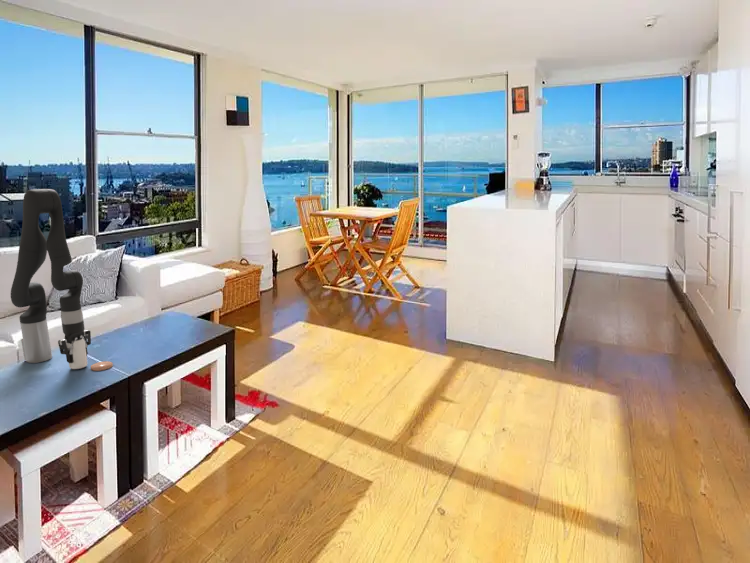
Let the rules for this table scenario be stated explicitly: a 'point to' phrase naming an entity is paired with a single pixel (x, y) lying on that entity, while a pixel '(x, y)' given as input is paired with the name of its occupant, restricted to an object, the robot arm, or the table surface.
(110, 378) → the table surface
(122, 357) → the table surface
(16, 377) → the table surface
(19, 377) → the table surface
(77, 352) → the can
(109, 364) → the peach round disc
